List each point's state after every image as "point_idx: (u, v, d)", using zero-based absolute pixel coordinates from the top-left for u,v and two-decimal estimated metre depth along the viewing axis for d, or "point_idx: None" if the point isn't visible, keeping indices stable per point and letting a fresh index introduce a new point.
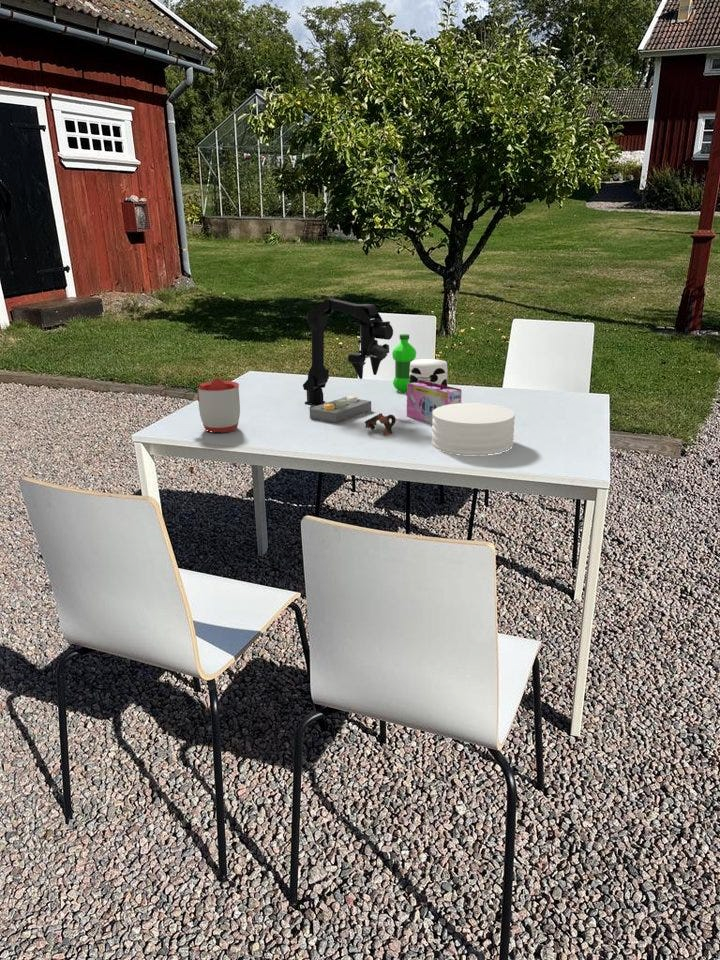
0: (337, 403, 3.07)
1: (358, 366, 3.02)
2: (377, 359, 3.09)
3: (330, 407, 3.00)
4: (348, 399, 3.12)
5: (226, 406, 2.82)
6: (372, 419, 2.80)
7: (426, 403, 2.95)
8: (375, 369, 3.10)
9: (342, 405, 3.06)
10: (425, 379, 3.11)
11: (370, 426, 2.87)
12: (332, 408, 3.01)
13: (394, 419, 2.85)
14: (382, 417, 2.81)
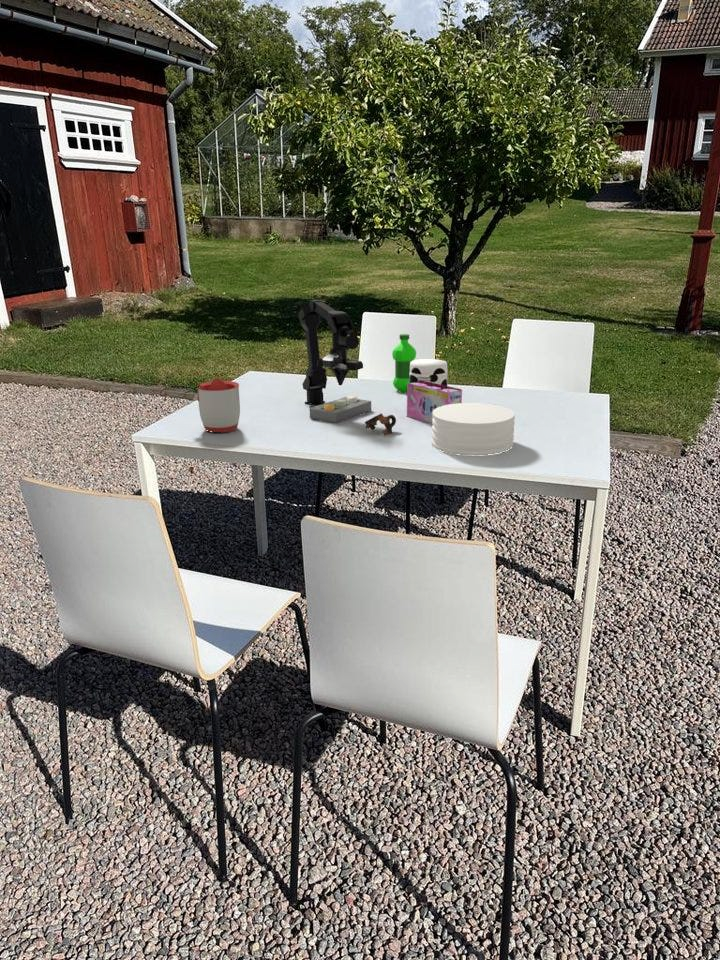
0: (337, 403, 3.07)
1: None
2: None
3: (330, 407, 3.00)
4: (348, 399, 3.12)
5: (226, 406, 2.82)
6: (372, 419, 2.80)
7: (426, 403, 2.95)
8: None
9: (342, 405, 3.06)
10: (425, 379, 3.11)
11: (370, 426, 2.87)
12: (332, 408, 3.01)
13: (394, 419, 2.85)
14: (382, 417, 2.81)
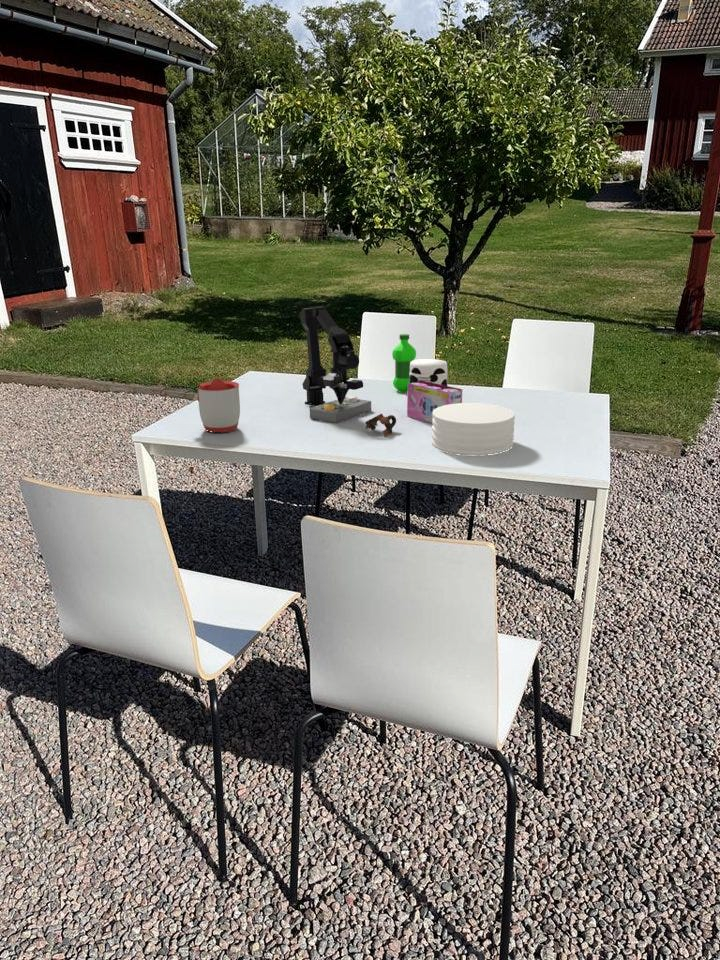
0: None
1: None
2: None
3: (330, 407, 3.00)
4: (348, 399, 3.12)
5: (226, 406, 2.82)
6: (373, 420, 2.79)
7: (426, 403, 2.95)
8: None
9: None
10: (425, 379, 3.11)
11: (370, 427, 2.86)
12: (332, 408, 3.01)
13: (394, 420, 2.84)
14: (383, 418, 2.80)
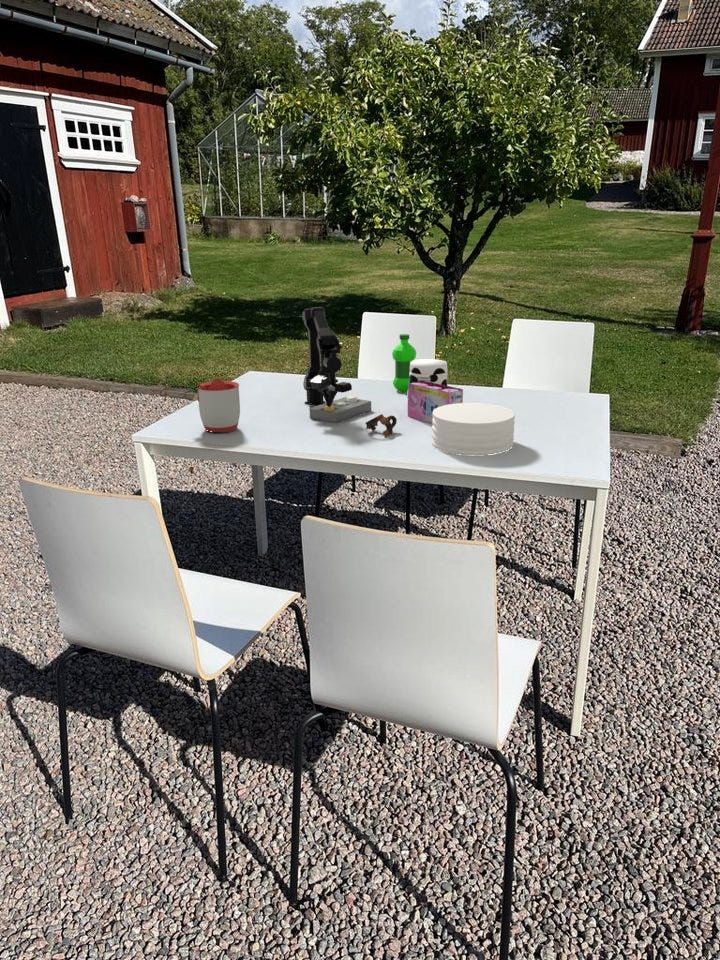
0: (337, 405, 3.07)
1: None
2: None
3: (330, 409, 3.01)
4: (348, 399, 3.12)
5: (226, 406, 2.82)
6: (373, 420, 2.79)
7: (427, 403, 2.95)
8: None
9: None
10: (425, 379, 3.11)
11: (371, 427, 2.86)
12: None
13: (395, 420, 2.84)
14: (383, 418, 2.80)
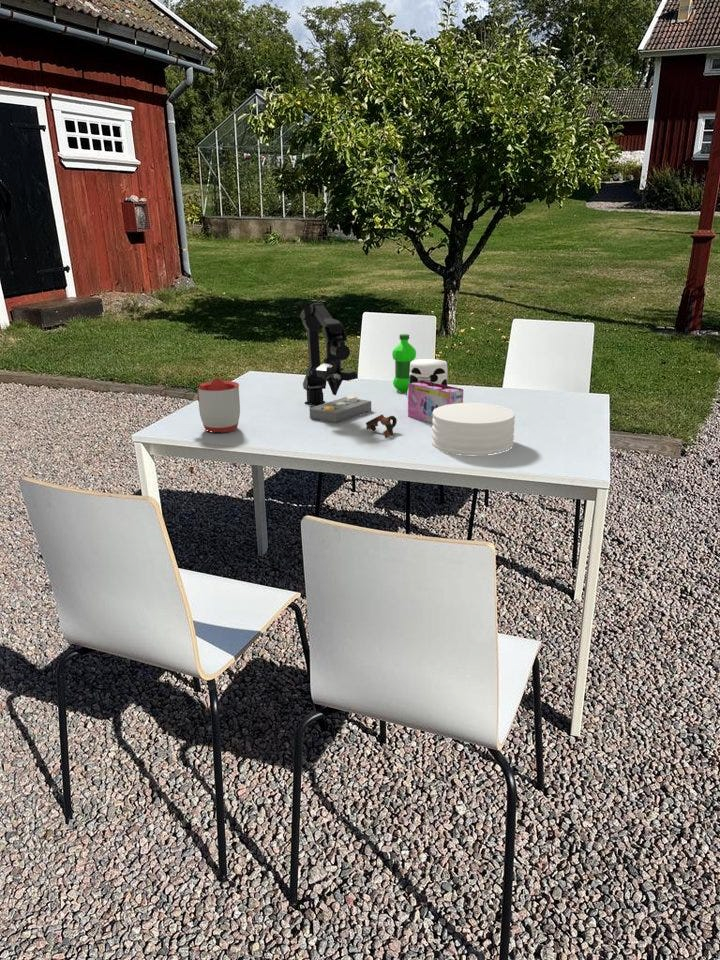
0: (337, 405, 3.07)
1: None
2: None
3: (330, 410, 3.01)
4: (348, 399, 3.12)
5: (226, 406, 2.82)
6: (373, 420, 2.78)
7: (427, 403, 2.95)
8: None
9: None
10: (425, 379, 3.11)
11: (371, 427, 2.85)
12: None
13: (395, 420, 2.83)
14: (383, 418, 2.79)
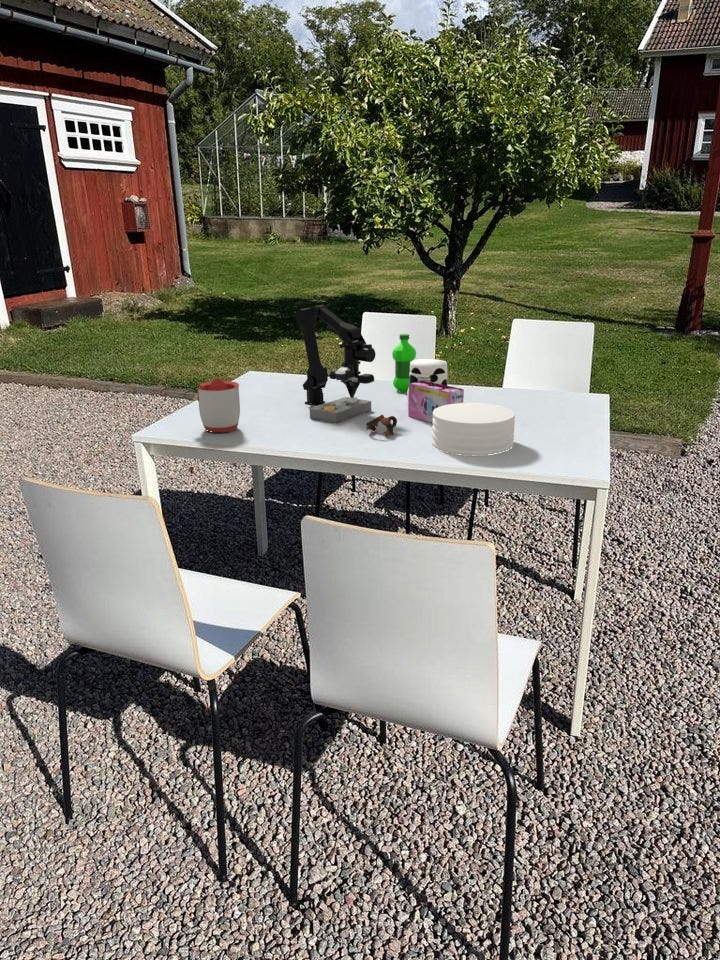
0: (337, 405, 3.07)
1: None
2: None
3: (330, 410, 3.01)
4: (348, 399, 3.12)
5: (226, 406, 2.82)
6: (374, 421, 2.78)
7: (428, 403, 2.95)
8: None
9: None
10: (425, 379, 3.11)
11: (371, 428, 2.85)
12: None
13: (395, 420, 2.83)
14: (384, 418, 2.79)
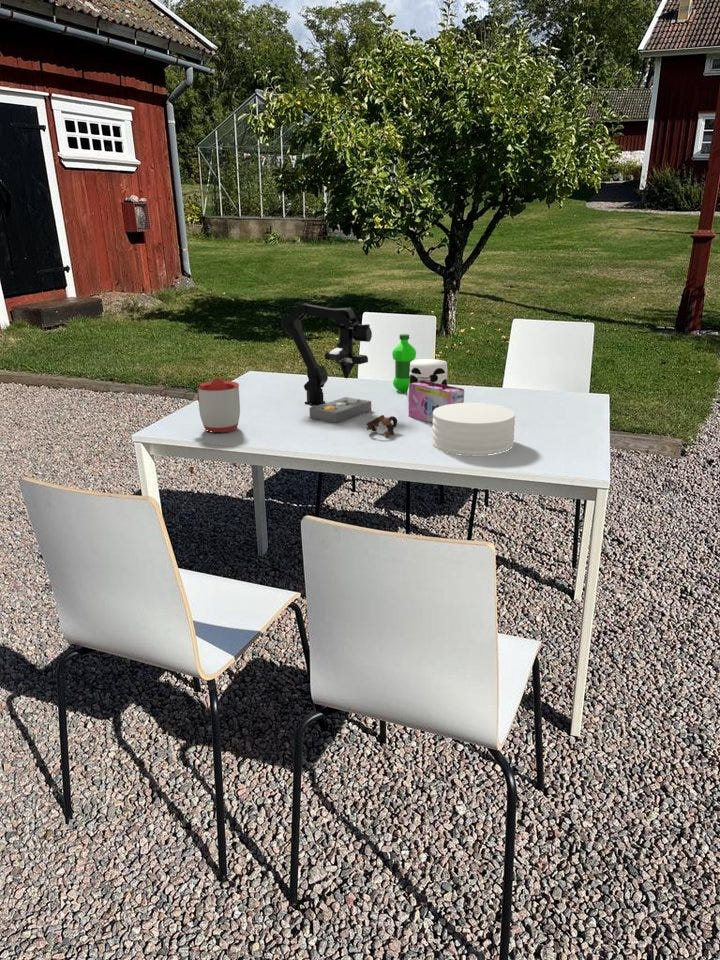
0: (337, 405, 3.07)
1: None
2: None
3: (330, 410, 3.01)
4: (348, 401, 3.13)
5: (226, 406, 2.82)
6: (374, 421, 2.78)
7: (428, 403, 2.95)
8: None
9: None
10: (425, 379, 3.11)
11: (371, 428, 2.84)
12: None
13: (396, 421, 2.83)
14: (384, 419, 2.79)
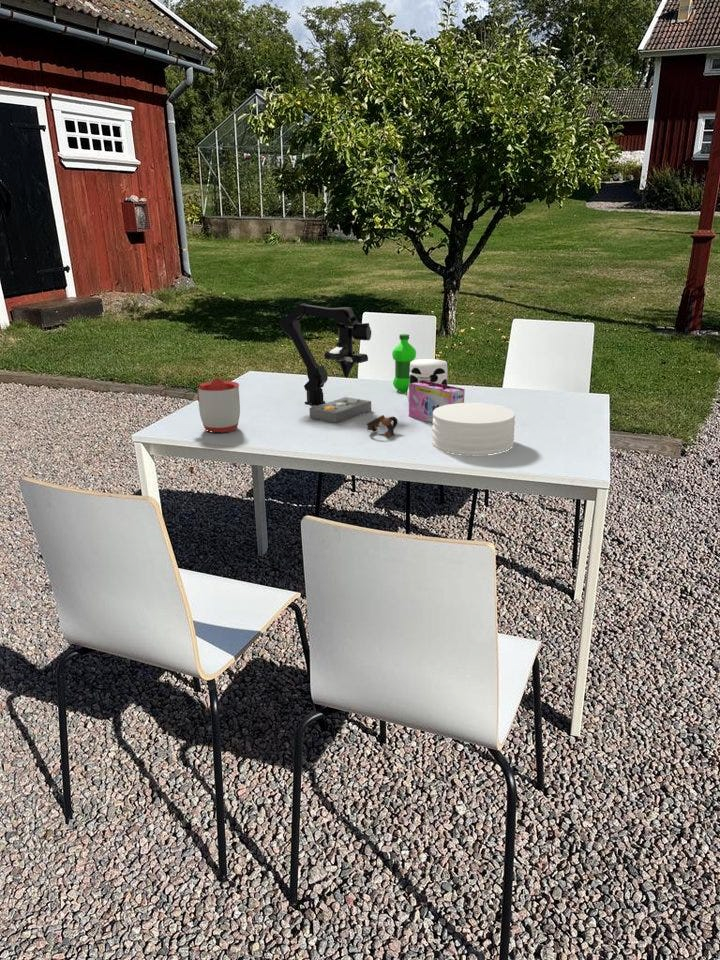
0: (337, 405, 3.07)
1: None
2: None
3: (330, 410, 3.01)
4: (348, 401, 3.13)
5: (226, 406, 2.82)
6: (374, 421, 2.77)
7: (428, 403, 2.95)
8: None
9: None
10: (425, 379, 3.11)
11: (372, 428, 2.84)
12: None
13: (396, 421, 2.82)
14: (384, 419, 2.78)
